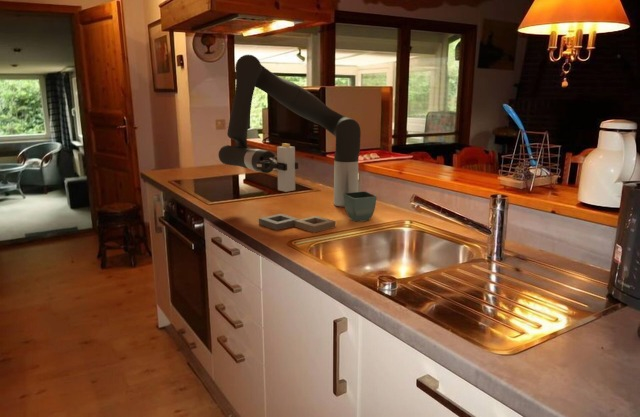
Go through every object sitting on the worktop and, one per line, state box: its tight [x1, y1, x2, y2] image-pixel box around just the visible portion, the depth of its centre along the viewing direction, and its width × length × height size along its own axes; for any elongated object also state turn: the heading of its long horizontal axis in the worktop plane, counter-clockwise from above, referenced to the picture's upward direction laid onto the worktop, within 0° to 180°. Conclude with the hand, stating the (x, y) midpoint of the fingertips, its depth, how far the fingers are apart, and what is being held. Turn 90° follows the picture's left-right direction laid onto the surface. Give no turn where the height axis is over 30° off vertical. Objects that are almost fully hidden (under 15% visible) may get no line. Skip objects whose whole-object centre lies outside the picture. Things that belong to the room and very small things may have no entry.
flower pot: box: [343, 190, 378, 223], centre depth 166 cm, size 9×9×9 cm
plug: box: [276, 142, 296, 193], centre depth 156 cm, size 4×4×15 cm
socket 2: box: [293, 215, 337, 233], centre depth 158 cm, size 10×10×2 cm
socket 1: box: [258, 213, 300, 231], centre depth 161 cm, size 10×10×2 cm
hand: (291, 166), depth 154 cm, fingers closed on plug, 4 cm apart
